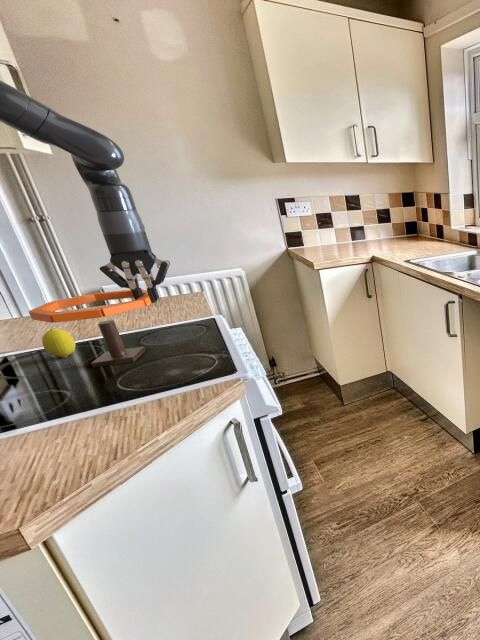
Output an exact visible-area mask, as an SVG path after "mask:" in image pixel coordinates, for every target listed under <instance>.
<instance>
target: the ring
mask: <svg viewBox="0 0 480 640" xmlns="http://www.w3.org/2000/svg"><path fill="white" fill-rule="evenodd" d="M142 292H143V296H141V297H140V298H138V299H137V300H135V299H134V297H133V294H132V291H131V290H130V289H124V290H112V291H104V292H103V291H102V292H94V293H88V294H83V295H77V296H73V297H67V298H63V299H58V300H57V299H56V300H53V301H49V302H46V303H44V304H42V305H39V306H37V307H35V308H31V309H30V310H28V314H29V316H30V319H31V320H33V321H39V322H45V323H49V324H50V323H52V324H53V323H55V324H56V323H57V324H58V323H62V322H73V321H82V320H83V321H84V320H89V319H90V320H92V319H99V318H103V317H104V318H107V317H110V316H115V315H118V314H123V313H126V312H131V311H135V310H139V309H144V308H146V307H149V306H150V305H151V304H152V303H151V300H150V297H149V295H148V292H147V289H142ZM123 299H134V300H129V301H125V302H120V303H116V304H111V305H107V306H102V307H96V308H87V309H78V310H77V309H76V310H67V311H60V310H63V309H67V308H71V307H77V306H81V305H85V304H90V303H96V302H103V301H113V300H123ZM57 311H59V312H57Z"/></svg>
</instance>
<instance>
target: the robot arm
mask: <svg viewBox="0 0 480 640" xmlns="http://www.w3.org/2000/svg"><path fill="white" fill-rule="evenodd" d="M0 123H2V124H4V125H5V126H8V127H10V128H12V129H13V130H16V132H17V131H18V132H19V133H21V134H24V135H25V136H27V137H29V138H31V139H33V140H35V141H37V142H40V143H43V144H46V145H50V146H54V147H57V148H59V149H61V150H63V151H65V152H67V153H69V154H70V157H71V160H72V162H73V164H74V167H75V169H76V171H77V172H78V174H79V176H80V178H81V179H82V181H83V183H84V185H85V186H86V187H87V190H88V191H89V195H90V198H91V201H92V204H93V208H94V210H95V212H96V216H97V222H98V225H99V228H100V231H101V233H102V236H103V238H104V241H105V243H106V247H107V249H108V252H109V254H110V258H109V262H108V263H107V264H105V265H101V266H100V267H99V271H100V272H102V273H103V274H104V275H105V276H106V277H108V278H109V279H110V280H111V281H112V282H114V283H115V284H116V285H117V286H118V287H119V288H121V289H123V288H125V289H128V290H131V291H132V294H133V297H134V298H133V299H134V300H137V299H138V298H140V297H141V296H143V292H142V290H143V289H142V287H140V283H139V280H138V279H139V278H138V277H139V275H140V276H141V278H142V280H143V281H144V284H145V287H146V291H147V292H148V295H149V297H150V300H151V304H155V303H157V302H158V300H159V299H160V294H159V292H158V289H157V286H159V285H161V284H162V283H164V281H165V279H166V276H167V274H168V270H169V268H170V265H171V262H170V260H167V259H166V260H163V259H161V258H159V257H157V256H156V255H155V253H153V251H152V247H151V245H150V241H149V239H148V235H147V233H146V230H145V229H146V228H145V224H144V223H143V220H142V218H141V216H140V214H139V211H138V209H137V207H136V206H137V205H136V203H135V200H134V198H133V194H132V192H131V190H130V188H129V187H128V185H126V184H124V183H123V182H122V180H121V178H120V176H119V173H118V172H117V169H119V168H121V167H122V166H123V164H124V162H125V154H124V152H123V150H122V148H121V147H120V146H119V145H118V143H116V142H115V141H114V140H113V139H111V138H110V137H108V136H106V135H105V134H103V133H101V132H99V131H97V130H95V129H93V128H91V127H90V126H87V125H84V124H82V123H80V122H78V121H76V120H74V119H71V118H69V117H67V116H64V115H62V114H60V113H58V112H57V111H55V110H54V109H53V108H51V107H49V106H47V105H46V104H44V103H42V102H41V101H39V100H37V99H35V98H34V97H32V96H30V95H28V94H26V93H25V92H23V91H21V90H19V89H18V88H16V87H14V86H12V85H10V84H8V83H7V82H5V81H3V80H0ZM155 264H156V268H157V269H158V270H157V273H156V276H155V278H154V273H153V271H152V269H153V267H154V266H155ZM117 269H118V270H119V271H121V272H122V273H124V276H125V278H124V277H123V276H122V275H121V274H120V273H119V272H118V271H117Z"/></svg>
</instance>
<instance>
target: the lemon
mask: <svg viewBox="0 0 480 640" xmlns="http://www.w3.org/2000/svg"><path fill="white" fill-rule="evenodd" d="M41 343H42V347H43V349H44V350H45V352H46V353H47V354H49V355H51V356H53V357H57V358H58V357H60V358H63V359H65V358H68V357H69V356H70V355H71V354H72V353H74V351H75V349H76V341H75V339H74V337H73V336H72V335H71V334H70V333H69V332H67V331H66V330H63V329H57V328H50V329H49V330H48V331H46V332H45V333H44V334H43V335H42V337H41Z"/></svg>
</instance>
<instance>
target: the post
mask: <svg viewBox="0 0 480 640" xmlns="http://www.w3.org/2000/svg"><path fill="white" fill-rule="evenodd" d="M97 326H98V328H99V331H100V333H101V335H102V338H103V340H104V343H105V345H106V348H107V350H108V351H105V352H104V353H102V354H101V355H99V356H98V357H97V358H96V359H95V360H93V361H92V362H91V363H90V364H91V366H92V368H93V369H94V368H101V367H107V366H114V365H121V364H127V363H132V362H133V363H134V362H135V361H137V360H138V359H139V358H140V357H141V356H142V355H143V354H144V353H145V352H146V347H145V346H138V347H131V348H130V347H129V348H125V344H124V342H123V340H122V337H121V334H120V332H119V329H118V328H117V325H116V321H115V320H114V319H110V320H103V321H100V322H98V323H97Z"/></svg>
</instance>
